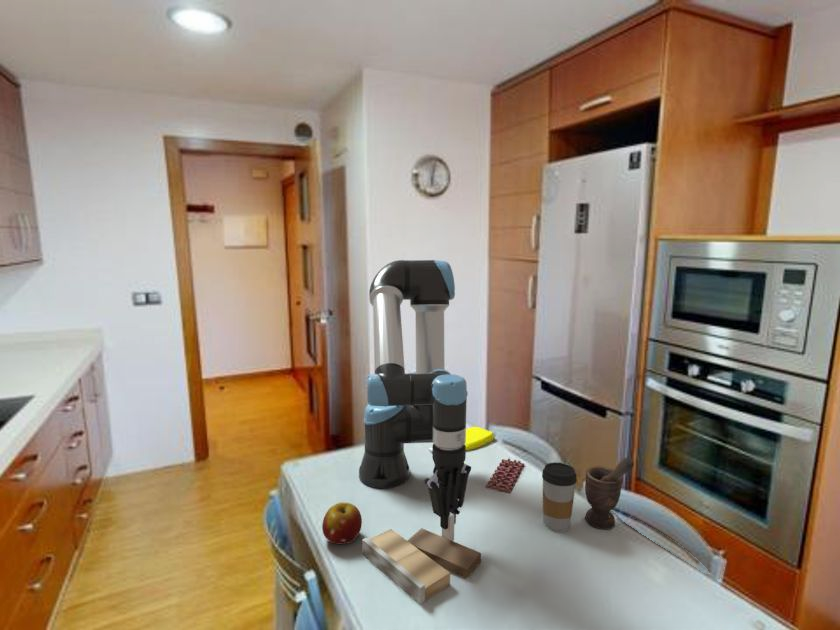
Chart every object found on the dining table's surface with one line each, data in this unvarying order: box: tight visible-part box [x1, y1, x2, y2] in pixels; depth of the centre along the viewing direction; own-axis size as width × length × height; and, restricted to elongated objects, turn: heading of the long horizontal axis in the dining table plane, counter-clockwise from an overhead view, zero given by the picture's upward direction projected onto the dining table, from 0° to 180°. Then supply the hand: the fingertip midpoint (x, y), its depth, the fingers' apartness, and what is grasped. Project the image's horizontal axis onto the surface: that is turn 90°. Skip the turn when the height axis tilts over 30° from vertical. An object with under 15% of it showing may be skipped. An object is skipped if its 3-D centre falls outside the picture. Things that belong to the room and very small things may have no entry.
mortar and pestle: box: [584, 456, 635, 530], centre depth 122 cm, size 12×9×20 cm
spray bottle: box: [428, 426, 495, 453], centre depth 169 cm, size 3×11×24 cm
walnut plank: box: [406, 527, 482, 580], centre depth 110 cm, size 16×6×2 cm, turn 56°
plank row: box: [361, 528, 451, 605], centre depth 106 cm, size 20×8×4 cm, turn 41°
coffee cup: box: [541, 462, 577, 533], centre depth 122 cm, size 8×8×15 cm
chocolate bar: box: [484, 457, 525, 494], centre depth 148 cm, size 7×19×2 cm, turn 156°
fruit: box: [321, 501, 363, 545], centre depth 116 cm, size 10×9×8 cm
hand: (447, 538), depth 115 cm, fingers closed
